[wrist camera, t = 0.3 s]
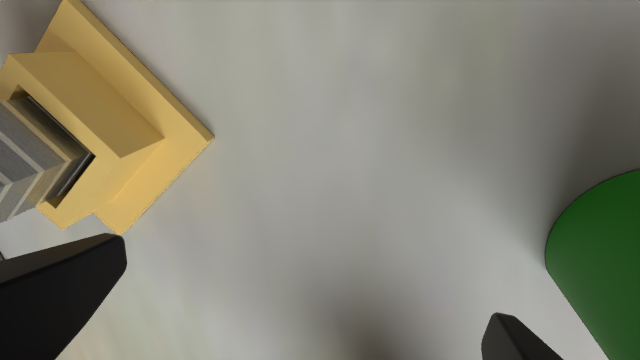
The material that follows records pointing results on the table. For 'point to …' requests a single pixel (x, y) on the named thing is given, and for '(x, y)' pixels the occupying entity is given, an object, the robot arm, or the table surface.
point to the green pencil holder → (602, 263)
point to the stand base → (105, 118)
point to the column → (35, 157)
